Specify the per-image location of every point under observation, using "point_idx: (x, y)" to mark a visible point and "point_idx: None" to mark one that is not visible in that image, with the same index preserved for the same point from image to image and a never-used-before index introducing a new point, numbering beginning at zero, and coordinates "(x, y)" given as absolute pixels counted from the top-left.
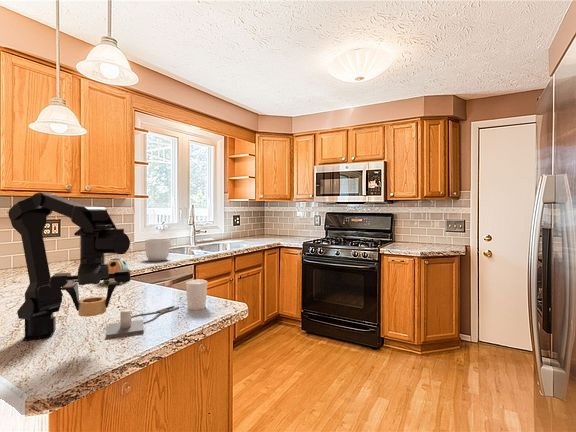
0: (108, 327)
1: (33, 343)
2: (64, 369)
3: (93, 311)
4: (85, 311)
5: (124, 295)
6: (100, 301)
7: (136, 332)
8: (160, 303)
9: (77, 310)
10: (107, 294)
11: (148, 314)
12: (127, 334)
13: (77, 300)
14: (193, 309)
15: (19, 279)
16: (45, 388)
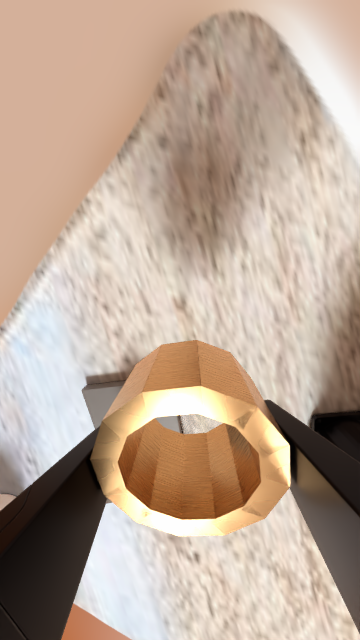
0: (178, 430)
1: (343, 390)
2: (219, 192)
3: (164, 354)
4: (210, 357)
5: (202, 615)
6: (107, 416)
7: (100, 386)
8: (105, 552)
9: (266, 400)
10: (37, 508)
11: None
12: (121, 382)
13: (307, 458)
14: (12, 496)
15: None
16: (234, 61)
